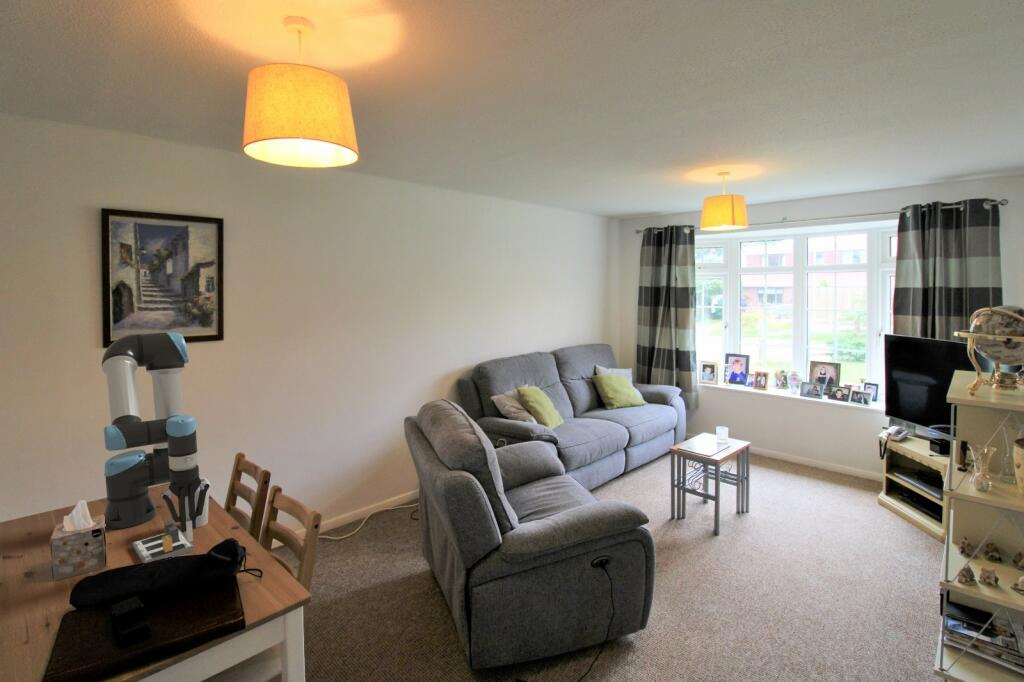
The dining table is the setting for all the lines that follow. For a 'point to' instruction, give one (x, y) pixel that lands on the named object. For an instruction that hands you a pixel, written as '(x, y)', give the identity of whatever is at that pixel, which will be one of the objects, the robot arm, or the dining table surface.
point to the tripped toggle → (167, 543)
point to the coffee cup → (203, 518)
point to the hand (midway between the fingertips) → (189, 539)
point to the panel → (153, 545)
